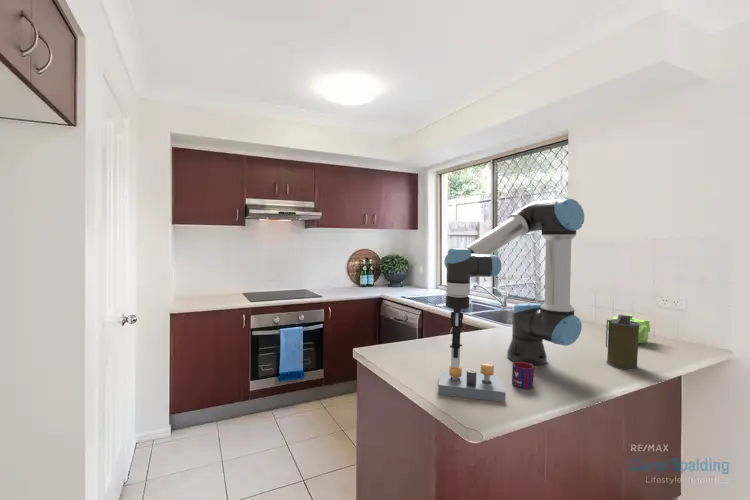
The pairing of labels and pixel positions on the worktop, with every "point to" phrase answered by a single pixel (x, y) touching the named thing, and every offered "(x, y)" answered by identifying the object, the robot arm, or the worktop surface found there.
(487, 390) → the mount
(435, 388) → the worktop surface
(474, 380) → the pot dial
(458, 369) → the knob
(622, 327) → the canister
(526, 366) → the mug
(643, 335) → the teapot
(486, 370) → the knob
